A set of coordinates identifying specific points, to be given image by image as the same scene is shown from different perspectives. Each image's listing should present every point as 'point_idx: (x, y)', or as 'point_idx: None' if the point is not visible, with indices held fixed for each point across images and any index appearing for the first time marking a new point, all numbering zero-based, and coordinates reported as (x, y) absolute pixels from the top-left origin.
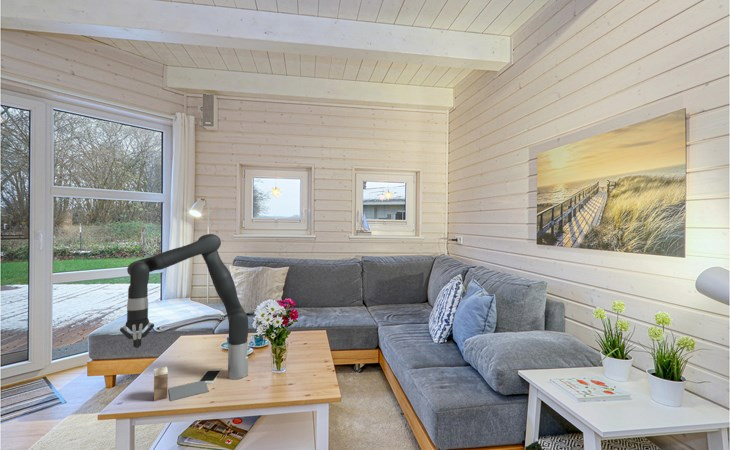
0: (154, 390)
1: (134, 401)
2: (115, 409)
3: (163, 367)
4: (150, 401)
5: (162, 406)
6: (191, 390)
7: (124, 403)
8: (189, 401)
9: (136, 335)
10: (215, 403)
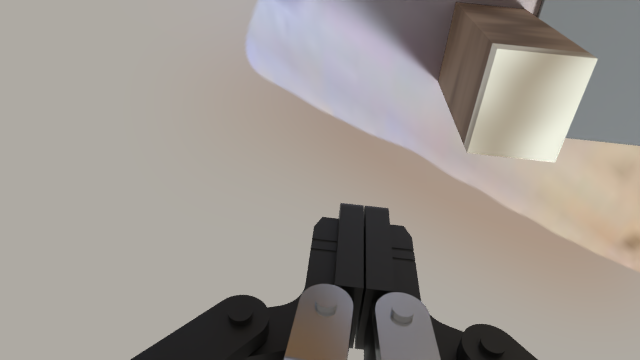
0: (448, 104)
1: (355, 15)
2: (269, 52)
3: (567, 61)
4: (423, 70)
5: (454, 157)
6: (634, 88)
7: (308, 6)
8: (564, 184)
9: (346, 344)
10: (631, 261)
